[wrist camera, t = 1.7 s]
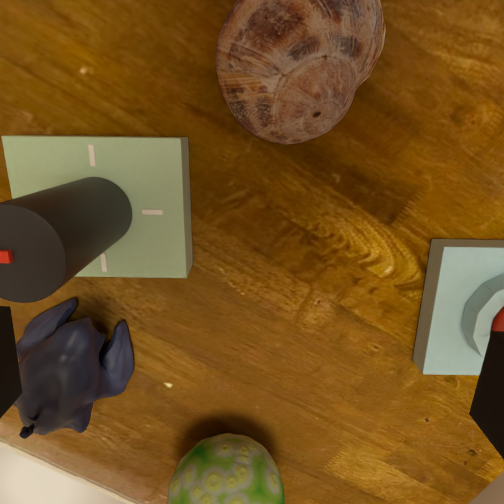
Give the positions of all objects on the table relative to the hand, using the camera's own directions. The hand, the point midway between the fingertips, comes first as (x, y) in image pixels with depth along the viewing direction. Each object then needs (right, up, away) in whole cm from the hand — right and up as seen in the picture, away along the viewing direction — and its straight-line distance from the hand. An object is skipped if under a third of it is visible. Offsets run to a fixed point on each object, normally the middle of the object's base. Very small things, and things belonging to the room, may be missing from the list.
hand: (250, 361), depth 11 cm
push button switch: (+20, -1, +22) cm, 30 cm away
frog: (-15, -5, +24) cm, 28 cm away
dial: (-11, +6, +16) cm, 21 cm away
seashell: (+3, +16, +16) cm, 23 cm away
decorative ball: (-2, -16, +27) cm, 31 cm away
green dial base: (-11, +7, +19) cm, 23 cm away
